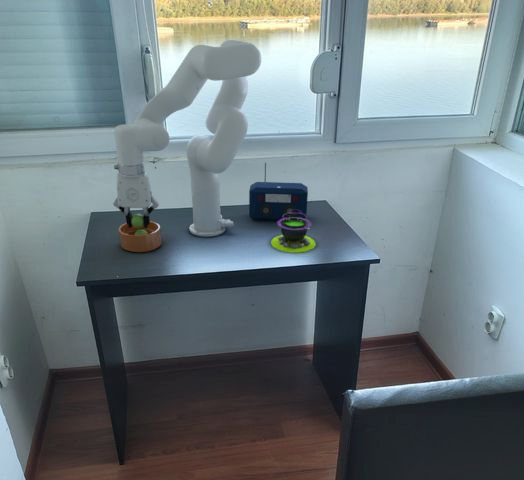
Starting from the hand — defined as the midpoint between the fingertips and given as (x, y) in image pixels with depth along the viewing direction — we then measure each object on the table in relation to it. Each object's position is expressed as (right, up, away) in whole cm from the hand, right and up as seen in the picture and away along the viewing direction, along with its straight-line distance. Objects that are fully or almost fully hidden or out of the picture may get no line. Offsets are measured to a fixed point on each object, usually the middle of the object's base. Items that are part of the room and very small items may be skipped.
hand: (138, 225), depth 168 cm
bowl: (0, -5, +4) cm, 7 cm away
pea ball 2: (0, -3, +2) cm, 4 cm away
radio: (+46, +9, +26) cm, 53 cm away
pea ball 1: (0, +1, -1) cm, 2 cm away
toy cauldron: (+51, -4, +7) cm, 51 cm away
